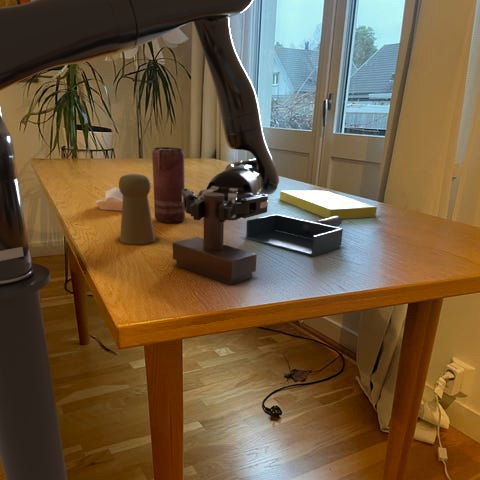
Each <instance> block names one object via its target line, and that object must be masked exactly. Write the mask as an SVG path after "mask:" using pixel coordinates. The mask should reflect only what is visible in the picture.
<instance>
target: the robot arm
mask: <svg viewBox="0 0 480 480" xmlns="http://www.w3.org/2000/svg"><path fill="white" fill-rule="evenodd" d="M253 1H254V0H31V1H28V2H24V3H21V4H17V5H16V4H15V5H10V6H3V7H0V92H1V91H4V90H5V89H7V88H9V87H11V86H13V85H15V84H18V83H19V82H21V81H23V80H26V79H28V78H31V77H33V76H35V75H37V74H40V73H42V72H45V71H47V70H51V69H54V68H58V67H63V66H70V65H75V64H81V63H86V62H92V61H96V60H100V59H105V58H108V57H112V56H114V55H117V54H121V53H124V52H127V51H130V50H133V49H136V48H139V47H141V46H143V45H145V44H148V43H151V42H152V41H155V40H157V39H159V38H161V37H164V36H166V35H168V34H170V33H173V32H174V31H176V30H178V29H180V28H182V27H183V26H186V25H188V24H190V23H193V24H194V27H195V30H196V33H197V36H198V40H199V42H200V45H201V49H202V52H203V55H204V57H205V60H206V63H207V66H208V69H209V72H210V76H211V78H212V79H211V80H212V82H213V85H214V89H215V93H216V99H217V103H218V107H219V112H220V117H221V122H222V128H223V133H224V138H225V143H226V145H227V147H228V148H229V149H230V150H234V151H235V150H236V151H245V152H249V153H250V154H251V155H252V156H253V157H254V158H253V159H246V160H239V161H235V162H231V163H229V164H227V165H226V167H225V170H223V171H220V173H218V174H216V175H215V176H214V177H212V179H210V180H209V182H208V183H207V187H206V188H205V189H202V190H200V191H199V192H198V194H195V192H194V190H190V189H188V188H185V189H183V190H182V207H183V209H184V210H185V214H188V215H190V217H193V218H192V219H193V220H194V221H200V220H201V219H203V217H204V193H222V194H224V202H223V203H221V204H220V205H219V222H224V223H225V222H226V221H230V222H231V221H237V220H240V219H242V218H243V219H248V218H252V217H255V216H258V215H263V214H266V213H268V207H269V205H268V204H269V195H272V194H274V193H276V191H277V189H278V187H279V185H280V175H279V171H278V168H277V166H276V163H275V161H274V159H273V157H272V155H271V153H270V150H269V148H268V145H267V142H266V139H265V135H264V132H263V126H262V121H261V119H262V118H261V114H260V107H259V101H258V97H257V93H256V91H255V88H254V85H253V83H252V81H251V79H250V77H249V76H248V73H247V72H246V70H245V68H244V66H243V64H242V62H241V60H240V58H239V56H238V54H237V52H236V49H235V46H234V42H233V39H232V34H231V28H230V17H233V16H234V17H235V16H238V15H241V14H242V13H243V12H244V11H246V10H247V9H248V8H249V7H250V6H251V4H253ZM3 117H4V116H3V114H2V108H1V107H0V286H5V285H11V284H15V283H19V282H22V281H24V280H27V279H29V278H30V277H31V276H32V275H33V267H32V264H31V263H33V262H32V258H31V253H30V244H29V238H28V232H27V226H26V220H25V213H24V206H23V201H22V193H21V188H20V180H19V175H18V174H19V173H18V167H17V162H16V155H15V149H14V148H15V147H14V143H13V138H12V135H11V133H10V131H9V130H8V128H7V125H6V123H5V120H4V118H3Z"/></svg>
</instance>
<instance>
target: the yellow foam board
mask: <svg viewBox="0 0 480 480" xmlns="http://www.w3.org/2000/svg"><path fill="white" fill-rule="evenodd" d="M279 200H280V201H282V202H285V203H286V204H287V203H288V204H290V205H293V206H295V207H297V208H299V209H303V210H305V211H307V212H310V213H312V214H315V215H317V216H319V217H322V218H324V219H327V218H331V217H335V216H339V217H340V218H341V220H345V219H360V218H363V219H364V218H376V215H377V209H378V206H376V205H372V204H369V203H366V202H362V201H359V200H356V199H353V198H350V197H347V196H344V195H341V194H338V193H334V192H331V191H327V190H280V192H279Z"/></svg>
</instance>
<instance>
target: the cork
mask: <svg viewBox="0 0 480 480" xmlns="http://www.w3.org/2000/svg"><path fill="white" fill-rule="evenodd" d="M118 188H119V189H120V192H121V193H122V195H123V203H122V211H121V219H120V233H119V234H120V236H119V242H121V243H123V244H126V245H133V246H134V245H148V244H152V243H154V242H155V241H156V236H155V230H154V226H153V220H152V212H151V208H150V203H149V196H148V195H149V194H150V192H151V180H150V179H149V177H147V176H146V175H144V174H138V173H129V174H125V175H122V176H120V178H119V180H118Z"/></svg>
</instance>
